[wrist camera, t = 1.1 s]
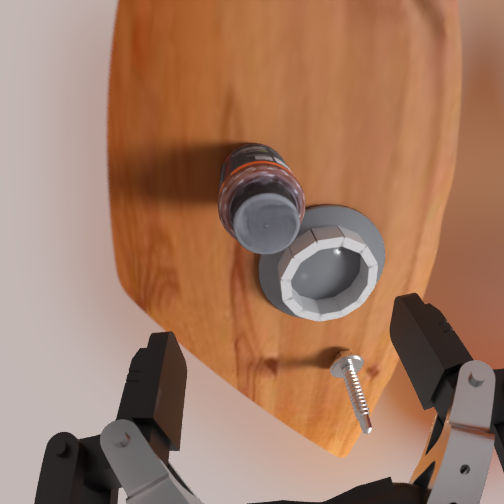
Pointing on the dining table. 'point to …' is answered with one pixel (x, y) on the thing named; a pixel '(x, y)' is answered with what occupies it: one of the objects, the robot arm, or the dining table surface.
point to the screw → (352, 384)
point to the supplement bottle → (260, 199)
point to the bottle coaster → (325, 265)
